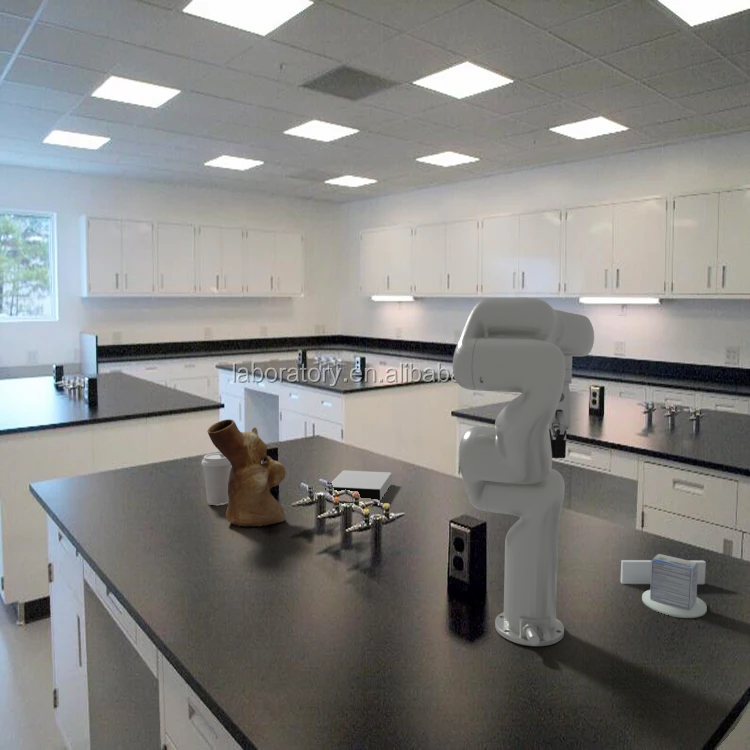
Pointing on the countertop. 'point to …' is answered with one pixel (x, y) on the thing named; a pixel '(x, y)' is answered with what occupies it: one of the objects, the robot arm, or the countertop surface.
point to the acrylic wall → (649, 571)
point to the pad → (674, 607)
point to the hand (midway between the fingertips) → (551, 452)
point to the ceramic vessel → (248, 476)
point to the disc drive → (363, 482)
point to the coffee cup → (216, 477)
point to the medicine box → (674, 581)
